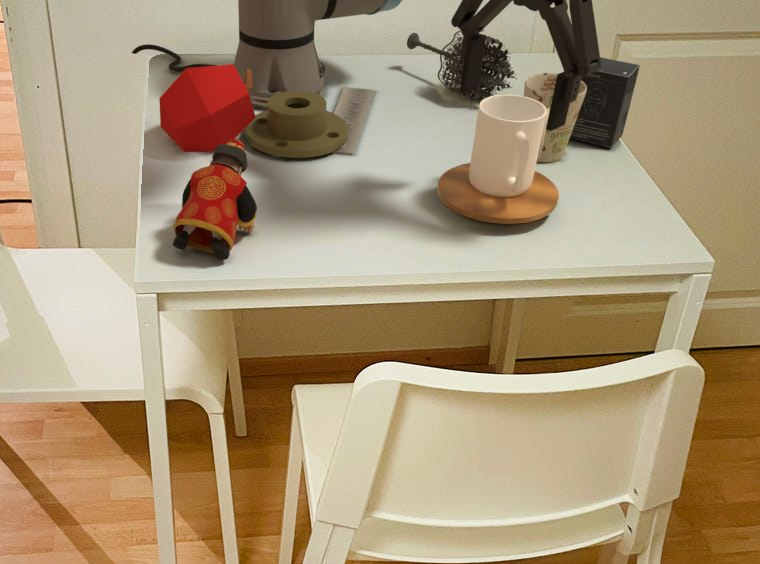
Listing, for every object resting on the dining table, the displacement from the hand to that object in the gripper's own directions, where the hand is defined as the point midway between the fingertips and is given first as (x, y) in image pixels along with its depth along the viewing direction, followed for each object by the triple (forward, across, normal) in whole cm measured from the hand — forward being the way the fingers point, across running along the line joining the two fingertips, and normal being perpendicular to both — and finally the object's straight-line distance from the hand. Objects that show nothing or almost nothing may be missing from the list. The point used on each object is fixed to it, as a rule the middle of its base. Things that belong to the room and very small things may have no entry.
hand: (510, 108), depth 115 cm
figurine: (+12, -14, -38) cm, 42 cm away
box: (+13, -4, +27) cm, 31 cm away
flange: (+10, -24, -4) cm, 27 cm away
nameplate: (+13, -29, +5) cm, 32 cm away
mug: (+13, -4, +15) cm, 21 cm away
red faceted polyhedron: (+11, -42, -24) cm, 49 cm away
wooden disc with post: (+11, 0, 0) cm, 11 cm away
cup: (+11, +1, 0) cm, 11 cm away
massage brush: (+5, -29, +23) cm, 37 cm away
